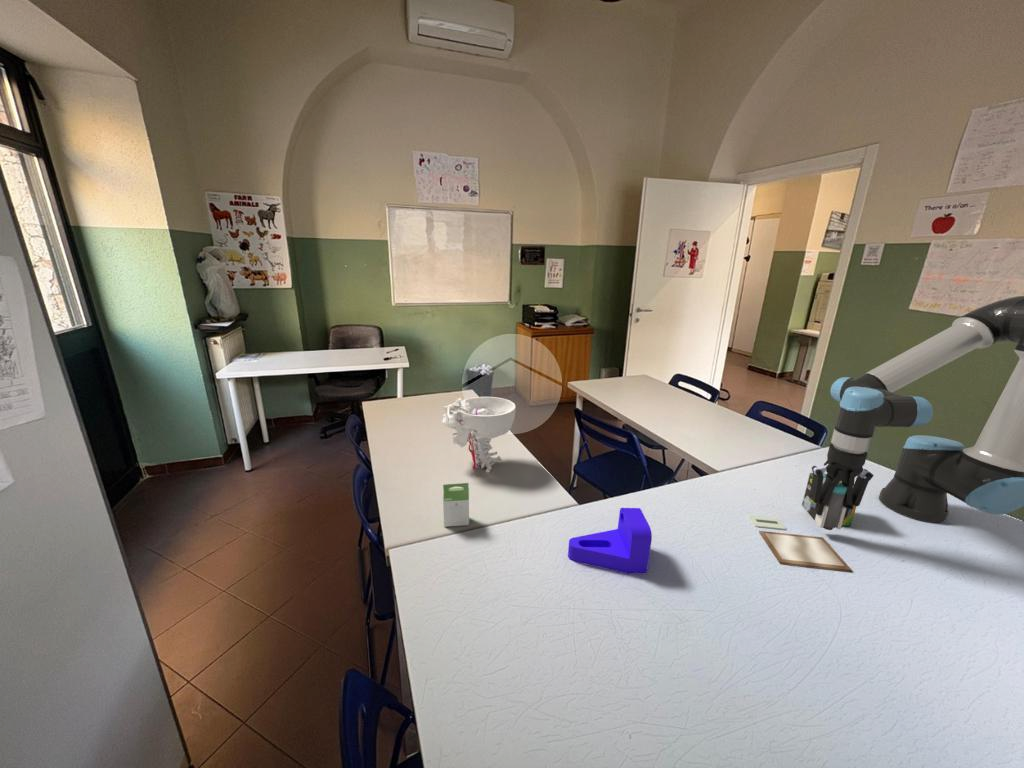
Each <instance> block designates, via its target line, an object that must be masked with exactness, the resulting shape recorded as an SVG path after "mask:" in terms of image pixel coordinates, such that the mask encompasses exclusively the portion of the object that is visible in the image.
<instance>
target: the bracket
mask: <svg viewBox="0 0 1024 768" xmlns="http://www.w3.org/2000/svg"><path fill="white" fill-rule="evenodd" d="M652 537H653V535H652V529H651V526H650V525H649V522H648V521H647V519H646V517H645V515H644V512H643V510H642V509H641V508H640V507H621V508H620V509H619V514H618V522H617V528H616V529H610V530H606V531H605V530H604V531H600V532H595V533H590V534H585V535H579V536H575V537H571V538H570V539H568V551H567V557H568V559H569V560H570V561H571V562H574V563H579V564H584V565H588V566H593V567H597V568H602V569H607V570H611V571H615V572H620V573H624V574H639V575H641V574H644V575H645V574H646V575H647V574H648V569H649V568H648V566H649V560H650V559H649V558H650V552H651V546H652V541H653V538H652Z"/></svg>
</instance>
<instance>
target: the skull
mask: <svg viewBox="0 0 1024 768" xmlns="http://www.w3.org/2000/svg"><path fill="white" fill-rule="evenodd" d="M443 409H444V410H445V412H446V413H444V414H443V415H442V416H443V417H442V421H441V423H442V424H443V425H444V426H446V427H447V428H449V429H451V430H453V429H454V431H455V432H456V433H452V442H453V444H454V445H458V446H459V447H460V448H464V447H465V446H466V445H467V444H468V451H469V452H470V454H471V457H472V462H473V465H472V469H475V468H476V465H478V468H480V467H481V469H484V468H486V469H485V472H486V473H491V471H492V465H494V464H496V463H495V462H499V463H501V462H502V457H501V456H500V455H498V451H494V452H490V451H491V450H492V449H493V446H492V444H490V443H491V440H492V439H494V438H497V437H500V436H503V435H506V434H507V433H509V431H510V430H511V428H512V426H513V424H514V422H515V416H516V410H517V409H516V404H515V403H514V402H513V401H511V400H509V399H506V398H501V397H496V396H476V397H470V398H466V399H463V398H462V397H459V398H457V399H456V401H455V402H453V403H450V404H448V405H445V406H443ZM496 455H498V456H497V457H493V456H496Z"/></svg>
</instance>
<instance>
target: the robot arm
mask: <svg viewBox="0 0 1024 768" xmlns="http://www.w3.org/2000/svg"><path fill="white" fill-rule="evenodd" d="M1003 342H1004V343H1005V342H1008V343H1009V342H1013V343H1016V345H1015V348H1014V350H1013V352H1015V354H1016V355H1017V356H1018V359H1019V360H1018V362H1017V364H1016V366H1015V367H1014V369H1013V371H1012V373H1011V375H1010V377H1009V378H1008V381H1007V383H1006V384H1005V387H1004V389H1003V390H1002V393H1001V395H1000V396H999V397H998V400H997V402H996V404H995V406H994V408H993V410H992V412H991V413H990V415H989V417H988V419H987V421H986V423H985V425H984V427H983V428H982V430H981V432H980V434H979V437H978V438H977V440H976V442H975V444H974V445H973V446H971V447H967V448H966V446H965V444H964V443H963V442H959V441H957V440H953V439H949V438H944V437H940V436H933V435H925V434H923V435H922V434H921V435H920V434H918V435H917V434H916V435H912V436H909V437H908V438H907V439H906V442H905V443H904V446H903V447H902V451H901V454H900V457H899V460H898V463H897V466H896V469H895V472H894V475H893V477H892V479H890V481H889V482H888V483H887V484H886V486H885V487H883V488H882V489H881V491H880V492H879V495H878V500H879V501H880V503H881V504H882V505H883V506H884V507H887V508H888V509H890V510H892V511H893V512H896V513H898V514H900V515H903V516H904V517H908V518H911V519H914V520H918V521H920V522H921V521H922V522H927V523H935V524H936V523H943V522H946V520H947V518H948V515H949V504H948V503H949V502H948V495H947V494H949V495H950V496H953V498H956V499H957V500H959V501H961V502H963V503H965V504H966V505H967V506H969V507H971V508H975V509H977V510H979V511H980V512H982V513H985V514H988V515H998V516H999V515H1006V514H1009V513H1012V512H1014V511H1018V510H1019V509H1021V508H1023V507H1024V295H1019V296H1014V297H1008V298H1004V299H1001V300H997V301H995V302H992V303H988V304H985V305H983V306H981V307H979V308H976V309H974V310H973V309H972V311H971V310H970V312H967V313H966V314H964V315H962V316H960V317H957V318H956V319H955V320H953V322H952V324H951V326H950V327H948V328H946V329H944V330H941V332H938V333H937V334H935V335H934V336H931V337H929V338H927V339H926V340H924V341H922V342H920V343H919V344H917V345H915V346H913V347H911V348H909V349H907V350H906V351H904V352H902V353H900V354H898V355H896V356H895V357H893V358H890V359H889V360H887V361H886V362H884V363H881V364H880V365H878V366H877V367H874V368H872V369H870V370H869V371H867V372H864V374H862V375H860V376H858V377H849V376H845V377H844V376H843V377H840V378H838V379H836V380H835V381H833V383H832V384H831V386H830V396H831V398H832V399H833V400H835V401H836V402H838V403H839V407H838V411H837V416H836V420H835V424H834V429H833V432H832V436H831V439H830V444H829V446H828V447H829V448H828V451H827V454H826V459H827V460H826V461H825V462H824V463H823V465H822V466H818V467H817V466H816V465H813V466H811V471H812V473H813V478H812V484H811V490H810V496H809V497H810V498H811V499H812V500H813V501H814V502H815V503H816V506H815V510H814V511H815V513H816V518H815V521H814V523H816V524H817V526H818V527H819V528H822V529H824V528H823V527H824V523H825V519H826V516H827V512H828V508H829V507H828V506H827V505H826V504H827V502H828V500H829V498H830V496H831V494H832V492H833V490H834V488H835V486H836V485H838V483H839V482H840V481H842V483H843V484H844V485H845V486H846V487H847V490H846V494H845V497H844V500H843V504H842V507H841V511H840V514H839V518H838V521H837V525H836V527H835V528H836V529H837V530H841V528H842V526H843V525H842V522H843V519H844V517H847V515H848V511H849V509H850V510H852V509H853V507H852V506H856V507H859V506H860V505H861V503H862V499H863V497H864V495H865V492H866V489H867V487H868V484H869V482H870V481H871V480H872V478H874V474H873V473H872V472H871V471H870V470H868V469H866V468H863V467H864V465H865V464H866V460H867V457H868V451H869V450H870V447H871V444H872V440H873V435H874V433H875V430H876V428H878V427H879V428H885V427H886V428H887V427H891V428H894V427H896V428H901V427H902V428H911V427H921V426H924V425H926V424H928V423H930V421H931V420H932V418H933V415H934V409H933V406H932V404H931V402H930V401H929V400H928V399H926V398H924V397H921V396H916V395H915V396H913V395H900V394H897V393H895V392H896V391H898V390H899V389H902V388H903V387H905V386H907V385H910V384H911V383H913V382H915V381H917V380H919V379H921V378H923V377H924V376H926V375H928V374H930V373H931V372H934V371H936V370H937V369H939V368H941V367H943V366H945V365H947V364H949V363H951V362H953V361H955V360H956V359H958V358H960V357H962V356H964V355H966V354H968V353H969V352H972V351H974V350H975V349H986V348H989V347H991V346H993V345H994V344H997V343H1003ZM825 474H826V477H825V478H826V480H825V482H824V484H823V476H824V475H825ZM822 484H823V486H822ZM853 485H854V486H853Z"/></svg>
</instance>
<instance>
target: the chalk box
mask: <svg viewBox="0 0 1024 768" xmlns="http://www.w3.org/2000/svg"><path fill="white" fill-rule="evenodd" d="M826 474H827V473H825V475H824V476H823V484H824V482H825V480H826V478H825V477H826ZM812 478H813V472H809V475H808V479H807V483H806V484H807V485H806V488H805V492H804V496H803V500H802V503H801V506H802V507H803V508H804V509H805V511H806V512H807V513H808V514H809V516H810V517H811V518H812V519H813V521H814V522H815V518H816V513H815V511H814V510H815V506H816V503H815V502H814V501H813V500H812V499H811V498H810V497H809V496H810V490H811V484H812ZM840 482H842V481H840ZM823 484H822V486H823ZM853 486H854V485H853ZM852 507H853V509H852V510H850V509H849V511H848V515H847V517H844V519H843V522H842V526H845V527H846V526H847V527H852V523H853V520H854V516H855V512H856V510H857V506H852Z"/></svg>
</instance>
